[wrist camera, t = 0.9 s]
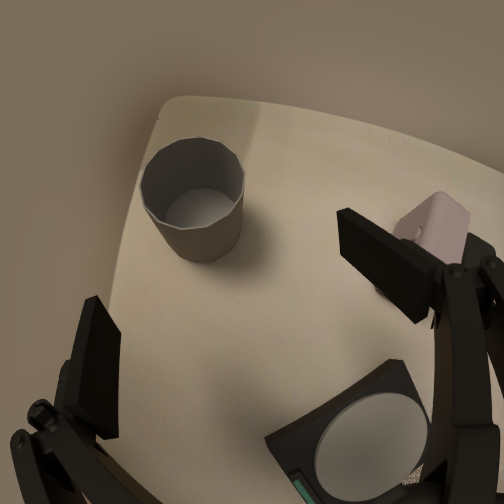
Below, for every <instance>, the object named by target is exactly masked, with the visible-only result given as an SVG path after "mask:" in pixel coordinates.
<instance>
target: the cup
mask: <svg viewBox="0 0 504 504" xmlns="http://www.w3.org/2000/svg"><path fill="white" fill-rule="evenodd" d="M245 174H246V173H245V171H244V168H243V166H242V164H241V161H240V159H239V157H238V154H236V153H235V152H234V151H233V150H231V149H230V148H229V147H228V146H227V145H225V144H224V143H223V142H222V141H218V140H214V139H210V138H207V137H203V136H196V137H188V138H180V139H177V140H175V141H173V142H171V143H169V144H167V145H165V146H163V147H161V148H160V149H158V150H157V151H156V153H155V154H154V155H153V156H152V157H151V158H150V160H149V161H148V162H147V163H146V164H145V166H144V169H143V172H142V176H141V179H140V183H139V190H140V194H141V199H142V203H143V207H144V208H145V210H146V211H147V213H148V214H149V216H150V217H151V219H152V221H153V222H154V224H155V225H156V227H157V228H158V230H159V231H160V233H161V234H162V236H163V237H164V239H165V240H166V242H167V243H168V245H169V246H170V247H171V248H172V249H173V250H174V251H175V252H176V253H177V254H178V255H179V256H180V257H182V258H185V259H188V260H191V261H194V262H196V263H197V262H206V261H215V260H216V259H218V258H220V257H221V256H223V255H225V254H226V253H228V252H229V251H230V250H231V249H232V247H233V246H234V244H235V243H236V241H237V240H238V238H239V235H240V227H241V218H242V206H243V195H244V185H245Z"/></svg>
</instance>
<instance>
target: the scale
mask: <svg viewBox="0 0 504 504" xmlns="http://www.w3.org/2000/svg"><path fill="white" fill-rule="evenodd" d="M430 431H431V423H430V421H429V418H428V416H427V413H426V411H425V409H424V406H423V404H422V402H421V399H420V397H419V395H418V392H417V390H416V388H415V386H414V383H413V381H412V379H411V377H410V375H409V373H408V370H407V368H406V366H405V364H404V362H403V360H397V359H388V360H387V361H385V362H384V363H383V364H382V365H380V366H379V367H378V368H376V369H375V370H373V371H372V372H371V373H369V374H368V375H367V376H365V377H364V378H362V379H361V380H360V381H358V382H357V383H355V384H354V385H352V386H351V387H349V388H348V389H346V390H345V391H343V392H342V393H340V394H339V395H337V396H336V397H334V398H333V399H331V400H329V401H328V402H326V403H325V404H323V405H321V406H320V407H318V408H316V409H315V410H313V411H311V412H310V413H308V414H306V415H305V416H303V417H301V418H299V419H298V420H296V421H294V422H292V423H290V424H289V425H287V426H285V427H283V428H281V429H279V430H277V431H276V432H274V433H272V434H270V435H268V436H266V437H264V438H265V441H266V444H267V447H268V449H269V450H270V452H271V453H272V455H273V456H274V458H275V459H276V461H277V462H278V464H279V465H280V467H281V468H282V470H283V471H284V473H285V474H286V475H287V477H288V478H289V480H290V481H291V482H292V484H293V485H294V487H295V488H296V489H297V491H298V492H299V494H300V495H301V496H302V498H303V499H304V500H305V502H306V503H307V504H367V503H368V502H370V501H371V500H372V499H374V498H376V497H378V496H379V495H381V494H383V493H385V492H386V491H388V490H390V489H392V488H393V487H395V486H397V485H398V484H400V483H401V482H402V481H403V480H404V479H405V478H406V477H407V476H408V475H410V474H411V473H412V472H413V471H415V470H416V469H417V468H418V467H419V466H421V465H422V464H423V463H424V462H425V459H426V457H427V453H428V446H429V439H430Z"/></svg>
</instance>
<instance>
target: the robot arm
mask: <svg viewBox="0 0 504 504" xmlns="http://www.w3.org/2000/svg"><path fill="white" fill-rule="evenodd" d="M337 221H338V232H339V244H340V255H341V256H342V257H343V258H345V259H346V260H347V261H348V262H349V263H350V264H351V265H352V266H354V267H355V268H356V269H357V270H358V271H359V272H360V273H361V274H362V275H363V276H365V277H366V278H367V279H368V280H369V281H370V282H371V283H372V284H373V285H374V286H375V287H377V288H378V289H379V290H380V291H381V292H382V293H383V294H384V295H385V296H386V297H387V298H388V299H389V300H390V301H391V302H392V303H394V304H395V305H396V306H397V307H398V308H399V309H400V310H401V311H402V312H403V313H404V314H405V315H406V316H407V317H408V318H409V319H410V320H411V321H412V322H413V323H414V324H416V323H418V322H420V321H421V320H423V319H424V318H426V317H427V316H428V311H429V307H431V308H432V309H433V310H434V311H435V312H434V316H433V320H432V324H431V329H433V326H434V341H435V373H434V397H433V411H432V422H431V431H430V439H429V446H428V453H427V457H426V459H425V462H424V464H423V467H422V470H421V474H420V479H419V482H417V483H411V484H407V485H404V486H403V485H402V483H400V484H398V485H397V486H395V487H393V488H392V489H390V490H388V491H386V492H385V493H383V494H381V495H379V496H378V497H376V498H374V499H372V500H371V501H370V502H368V503H367V504H504V493H497V492H496V491H497V482H498V473H499V460H500V429H499V427H498V425H495V424H493V421H492V399H491V383H490V372H489V363H488V355H489V357H490V360H491V363H492V365H493V368H494V371H495V374H496V377H497V380H498V383H499V386H500V389H501V392H502V395H503V398H504V263H503V261H502V260H501V259H500V258H498V257H496V256H494V255H484V256H482V257H481V258H480V262H479V266H477V267H473V268H469V269H468V268H467V267H466V266H464V265H462V264H458V263H450V264H446V263H444V262H443V261H441V260H440V259H439V258H437V257H436V256H434V255H433V254H431V253H430V252H428V251H426V250H425V249H424V248H422V247H420V246H419V245H418V244H416V243H415V242H413V241H411V240H407V239H404V238H402V239H400V240H399V239H397V238H396V237H394V236H393V235H391V234H390V233H388V232H387V231H385V230H384V229H382V228H381V227H379V226H377V225H376V224H374V223H373V222H371V221H370V220H368V219H366V218H365V217H363V216H362V215H360V214H358V213H357V212H355V211H353V210H352V209H350V208H345V209H342V210H339V211H337ZM494 300H495V302H494ZM495 303H496V304H495ZM120 344H121V332H120V331H119V329H118V328H117V326H116V325H115V323H114V321H113V320H112V318H111V317H110V315H109V314H108V312H107V310H106V309H105V307H104V305H103V304H102V302H101V300H100V299H99V297H98V296H97V295H96V296H93V297H91V298H88V299H86V300H85V302H84V306H83V309H82V313H81V317H80V321H79V324H78V329H77V333H76V337H75V341H74V345H73V350H72V354H71V359H70V360H66V361H65V363H64V365H63V366H62V368H61V371H60V375H59V381H58V385H57V386H58V388H57V390H56V396H55V402H54V406H52V405H51V404H50V403H49V402H48V401H47V400H45V399H40V400H37V401H36V402H35V403H33V404H32V406H31V407H30V409H29V411H28V416H27V419H28V423H29V424H30V425H32V426H33V427H34V428H35V429H36V430H38V431H37V432H35V433H33V434H29V433H28V432H27V431H26V430H24V429H20V430H18V431H16V432H15V433H14V434H13V436H12V438H11V441H10V449H11V454H12V459H13V463H14V467H15V471H16V475H17V479H18V483H19V486H20V490H21V493H22V497H23V500H24V503H25V504H87V502H86V500H85V498H84V496H83V494H84V495H85V496H86V497H87V499H88V500H89V501H90V502H91V503H92V504H163V503H162V502H160V501H159V500H158V499H157V498H156V497H154V496H153V495H152V494H151V493H150V492H148V491H147V490H146V489H145V488H144V487H143V486H141V485H140V484H139V483H138V482H137V481H136V480H135V479H134V478H133V477H132V476H130V475H129V474H128V473H127V472H126V471H125V470H124V469H123V468H122V467H121V466H120V465H119V464H118V463H117V462H116V461H115V460H114V459H113V458H112V457H111V456H110V455H109V454H108V453H107V452H106V451H105V450H104V448H103V447H102V446H101V445H100V444H98V443H97V442H96V434H97V435H98V436H99V437H101V438H102V439H103V440H108V439H114V438H119V426H118V388H119V360H120ZM487 352H488V355H487ZM81 491H82V492H83V494H82V492H81Z"/></svg>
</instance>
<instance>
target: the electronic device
mask: <svg viewBox="0 0 504 504" xmlns="http://www.w3.org/2000/svg"><path fill="white" fill-rule="evenodd" d="M469 221H470V213H469V212H468V211H467V210H466V209H465V208H463V207H462V206H461V205H460V204H459V203H457V202H456V201H455V200H454V199H453V198H451V197H450V196H449V195H448V194H446V193H445V192H441V191H440V192H436V193H434V194H432V195H431V196H430V197H429V198H427V199H426V200H425V201H424V202H422V203H421V204H420V205H418V206H417V207H416V208H415V209H413V210H412V211H411V212H409V213H408V214H407V215H405V216H404V217H403V218H402V219H400V220H399V222H398V223H397V225H396V228H395V230H394V233H393V236H394V237H396V238H397V239H399V240H400V239H402V238H404V239H407V240H411V241H413V242H415V243H416V244H418V245H419V246H420V247H422V248H424V249H425V250H426V251H428V252H430V253H431V254H433V255H434V256H436V257H437V258H439V259H440V260H441V261H443V262H444V263H446V264H450V263H458V264H461V260H462V256H463V251H464V247H465V242H466V237H467V232H468V226H469ZM376 288H377V287H376ZM377 290H378V291H380V290H379V289H378V288H377ZM380 292H381V291H380ZM381 293H382V292H381Z"/></svg>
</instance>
